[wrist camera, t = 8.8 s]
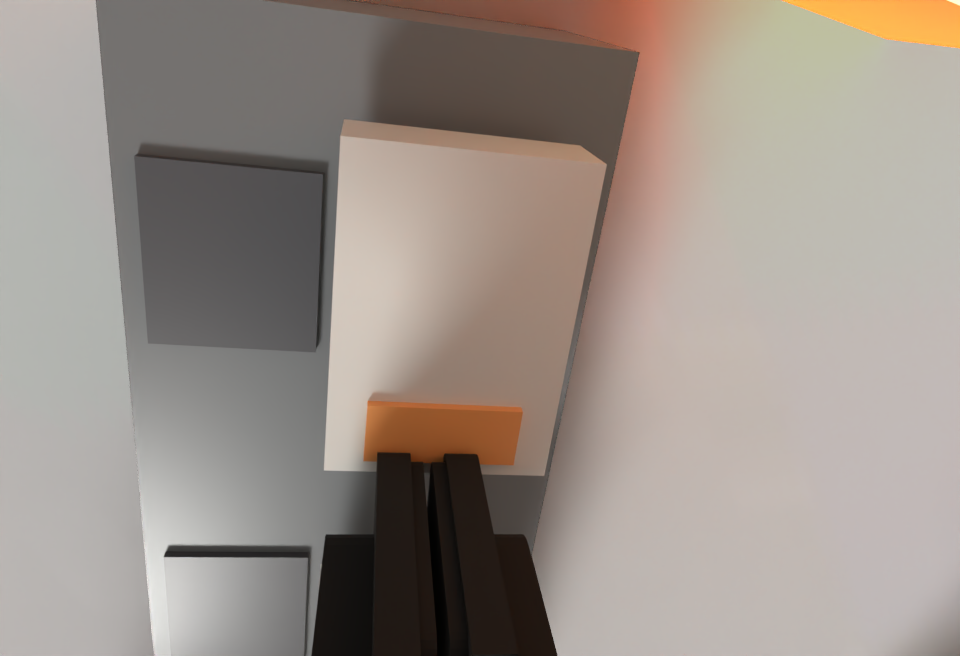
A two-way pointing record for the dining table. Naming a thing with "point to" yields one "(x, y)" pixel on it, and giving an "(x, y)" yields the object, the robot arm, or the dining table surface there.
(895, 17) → the orange juice
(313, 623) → the power strip
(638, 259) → the dining table surface
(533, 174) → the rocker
